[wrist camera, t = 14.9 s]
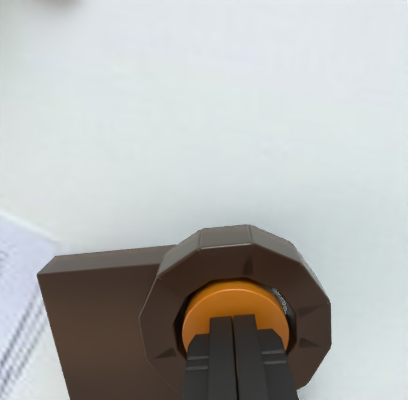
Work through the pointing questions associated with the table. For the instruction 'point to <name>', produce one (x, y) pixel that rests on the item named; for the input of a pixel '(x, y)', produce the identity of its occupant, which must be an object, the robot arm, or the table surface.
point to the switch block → (169, 309)
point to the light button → (234, 307)
